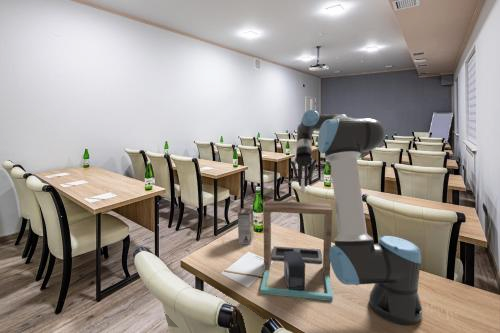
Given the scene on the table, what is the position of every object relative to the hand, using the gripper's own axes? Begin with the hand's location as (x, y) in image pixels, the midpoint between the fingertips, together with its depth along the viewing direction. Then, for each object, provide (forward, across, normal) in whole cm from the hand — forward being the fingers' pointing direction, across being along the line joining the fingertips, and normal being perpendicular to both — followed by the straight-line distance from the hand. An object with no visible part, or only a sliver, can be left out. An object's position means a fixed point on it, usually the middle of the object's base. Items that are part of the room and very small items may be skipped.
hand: (302, 192), depth 122 cm
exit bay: (+40, +1, +2) cm, 40 cm away
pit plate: (+25, +4, -14) cm, 29 cm away
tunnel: (+33, +3, -5) cm, 34 cm away
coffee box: (+18, +31, -19) cm, 41 cm away
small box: (+39, +2, +2) cm, 39 cm away
